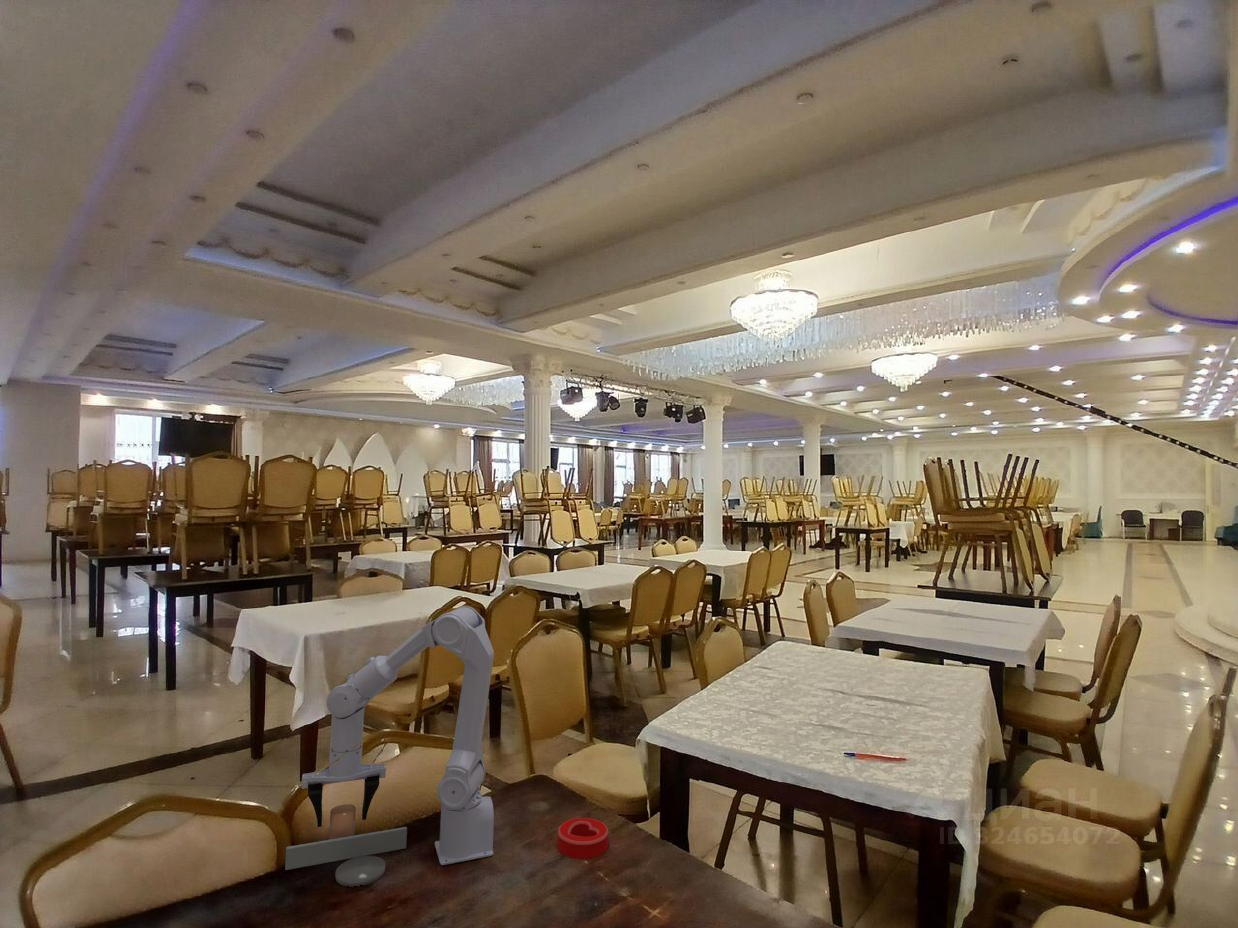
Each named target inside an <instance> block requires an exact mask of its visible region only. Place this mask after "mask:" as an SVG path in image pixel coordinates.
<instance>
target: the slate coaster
mask: <svg viewBox="0 0 1238 928" xmlns="http://www.w3.org/2000/svg"><path fill="white" fill-rule="evenodd" d="M385 872H386V861H385V860H384V859H383V858H381V857H379V856H376V855H366V856H361V857H355V858H350V859H347V860H346V861H344V862H342V863H341V864H340V865H339V866H338V867H337V868H336V870H335V875H334V876H335V877H334V878H335V882H336V883H337V884H338V885H340V886H343V887H347V886H349V887H350V888H355V887H354V886H357V887H361V886H360V885H363V886H367V885H369V884H372V883H374V882H376V881H378V880H380V878H382V876H384V874H385ZM349 887H348V888H349Z"/></svg>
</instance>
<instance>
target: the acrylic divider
mask: <svg viewBox="0 0 1238 928" xmlns="http://www.w3.org/2000/svg"><path fill="white" fill-rule="evenodd" d="M407 834H408V827H407V826H403V827H396V828H391V829H385V830H384V829H383V830H380V831H373V832H367V833H361V834H357V835H355V834H354V836H349V837H343V838H337V839H331V840H329V839H326V840H320V841H319V840H318V841H314V842H308V843H303V844H301V843H300V844H297V845H290V846H286V849H285V866H284V867H285V868H284V869H285V871H288V870H295V869H299V868H305V867H309V866H310V867H311V866H316V865H321V864H327V863H332V862H337V861H338V862H339V861H344V860H350V859H353V858H356V857H361V856H373V855H376V854H381V853H386V852H387V853H388V852H392V851H397V850H399V851H400V850H403V849H407V837H408V836H407Z"/></svg>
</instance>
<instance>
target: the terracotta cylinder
mask: <svg viewBox="0 0 1238 928" xmlns="http://www.w3.org/2000/svg"><path fill="white" fill-rule="evenodd" d="M356 810H357V809H356V805H354V804H351V803H349V804H346V803H345V804H340V805H336V806H334V807H332V808H331V809H330V813H329V831H328V832H329V833H328V840H331V839H337V838H343V837H349V836H354V835H355V831H356V829H355V828H356Z"/></svg>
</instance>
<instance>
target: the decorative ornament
mask: <svg viewBox="0 0 1238 928" xmlns="http://www.w3.org/2000/svg"><path fill="white" fill-rule="evenodd" d="M556 844H557V847H556V848H557V850H558V852H560V854H561V855H563V856H565V857H567V858H571V859H577V860H589V859H593V858H598V857H599V856H602V855H603V854H605V852H607V850H608V848H609V829H608V826H607V825H606V824H605V823H603V822H602V821H601V820H597V819H594V818H590V817H578V818H572V819H569V820H567V821H565V822H563V823H562V824H561V825H560V826H558V829H557V842H556Z"/></svg>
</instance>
